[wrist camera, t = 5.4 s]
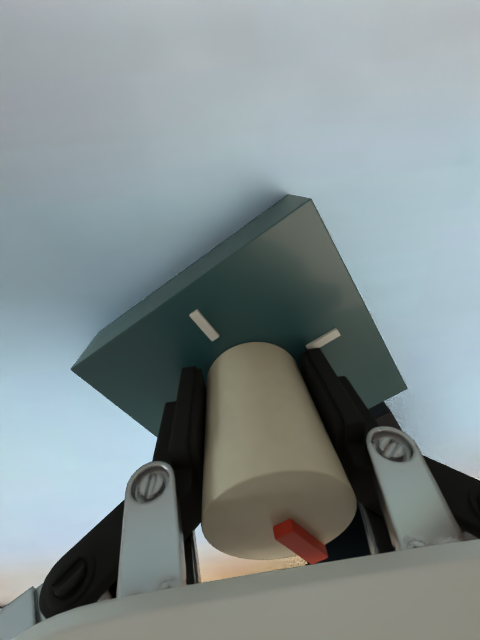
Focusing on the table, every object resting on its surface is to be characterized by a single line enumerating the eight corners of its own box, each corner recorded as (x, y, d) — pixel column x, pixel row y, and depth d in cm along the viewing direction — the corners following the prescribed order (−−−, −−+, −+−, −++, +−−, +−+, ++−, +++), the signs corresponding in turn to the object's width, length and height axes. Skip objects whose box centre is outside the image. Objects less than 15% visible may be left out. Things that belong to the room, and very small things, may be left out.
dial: (186, 376, 11) (164, 536, 6) (265, 323, 11) (314, 457, 5) (242, 427, 13) (261, 587, 8) (315, 385, 12) (388, 533, 7)
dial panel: (98, 332, 14) (67, 372, 11) (288, 193, 11) (313, 197, 9) (218, 440, 18) (219, 489, 15) (375, 353, 16) (410, 391, 13)
